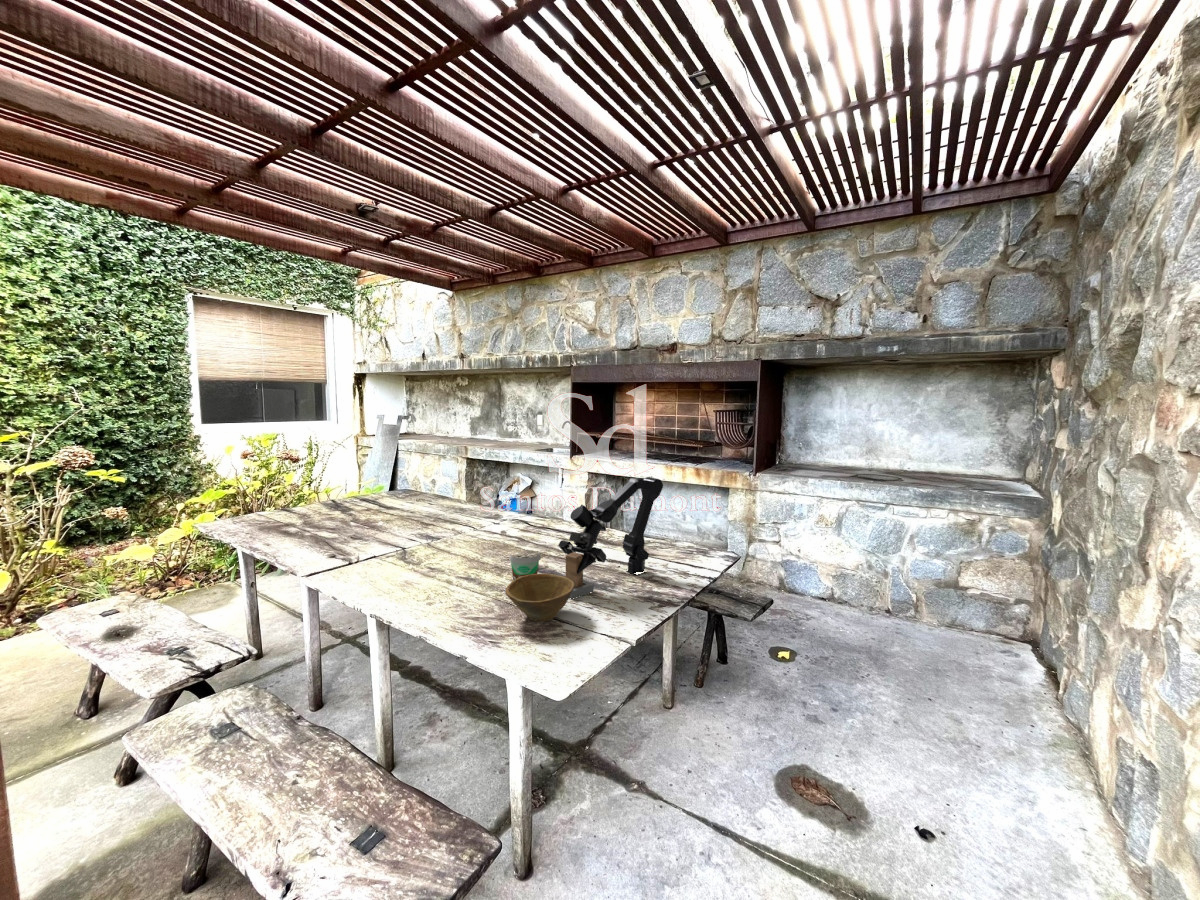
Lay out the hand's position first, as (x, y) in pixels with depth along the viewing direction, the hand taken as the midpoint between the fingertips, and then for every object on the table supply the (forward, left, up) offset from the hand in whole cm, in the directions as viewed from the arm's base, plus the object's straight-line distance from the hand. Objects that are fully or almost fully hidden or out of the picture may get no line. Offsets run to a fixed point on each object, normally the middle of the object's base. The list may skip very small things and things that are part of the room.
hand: (572, 571), depth 178 cm
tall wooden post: (-1, 0, -7) cm, 7 cm away
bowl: (+19, +8, -8) cm, 22 cm away
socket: (-1, 0, -8) cm, 8 cm away
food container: (+7, -20, -8) cm, 23 cm away
